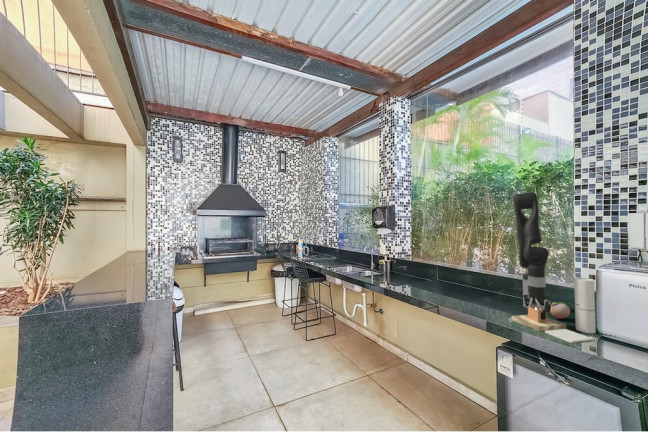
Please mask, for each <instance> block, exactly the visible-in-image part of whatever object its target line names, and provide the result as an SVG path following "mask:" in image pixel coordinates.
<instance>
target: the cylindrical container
mask: <svg viewBox="0 0 648 432" xmlns="http://www.w3.org/2000/svg"><path fill="white" fill-rule="evenodd" d="M573 286H574V287H573V288H574V313H575V316H574V317H575V329H576V331H579V332H581V333H584V334H585V333H586V334H596V328H597V327H596V310H595V309H596V305H595V304H596V303H595V301H596V299H595V279H592V278H586V277H574V278H573Z"/></svg>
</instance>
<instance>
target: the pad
mask: <svg viewBox="0 0 648 432" xmlns="http://www.w3.org/2000/svg"><path fill="white" fill-rule="evenodd" d="M544 333H546V334H547V335H551V336H553V337H555V338H558V339H561V340H563V341H566V342H567V343H569V344H570V343H571V344H574V343H585V342H593V341H594V338H593V337H590V336H587V335H584V334H580V333H578V332H576V331H572V330H569V329H568V328H566V329H556V330H546V331H544Z"/></svg>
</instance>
